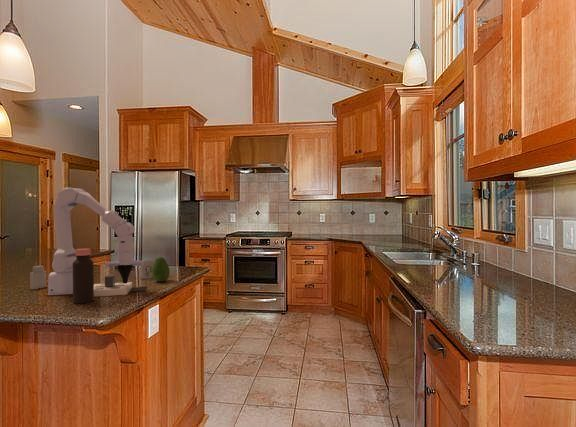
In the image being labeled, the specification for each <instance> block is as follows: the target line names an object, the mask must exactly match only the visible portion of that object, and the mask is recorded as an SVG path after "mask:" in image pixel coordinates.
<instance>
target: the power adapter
mask: <svg viewBox="0 0 576 427" xmlns="http://www.w3.org/2000/svg"><path fill="white" fill-rule="evenodd" d="M29 287H30V290H33V289H35V290H40V289H43V288H47V271H46V270H44V265H42V263H41V260H39V265H37V263H35V265H34V266H32V272H29ZM39 288H40V289H39Z"/></svg>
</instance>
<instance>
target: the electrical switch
mask: <svg viewBox="0 0 576 427" xmlns="http://www.w3.org/2000/svg"><path fill="white" fill-rule="evenodd" d="M155 260H156V259H147V260H145V259H144V265H143V266H141V265H140V269H141V270H140V274H141V276H140V279H141V280H150V279H154V278H153V276H152V268H153V265H154V262H155Z"/></svg>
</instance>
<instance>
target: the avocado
mask: <svg viewBox="0 0 576 427" xmlns="http://www.w3.org/2000/svg"><path fill="white" fill-rule="evenodd" d="M154 260H155V262H154V265H153V268H152V276H153V278H152V279H154V280H155V281H156V282H158V283H159V282H160V283H163V282H166V281H167V280H168V279H169V277H170V274H171V273H170V267H169V265H168V264H169V263H168V262H167V260H166V259H165V258H164V256H163V257H162V256H159V257H157V258H155V259H154Z"/></svg>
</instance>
